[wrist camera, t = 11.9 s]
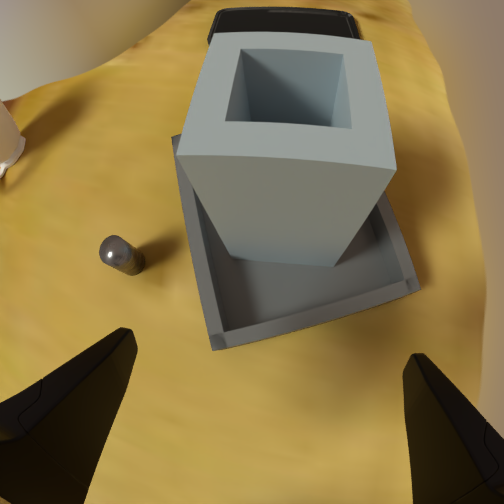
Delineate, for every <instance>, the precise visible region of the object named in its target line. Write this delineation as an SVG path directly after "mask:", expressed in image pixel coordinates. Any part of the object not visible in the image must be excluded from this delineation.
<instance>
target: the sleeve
mask: <svg viewBox="0 0 504 504" xmlns="http://www.w3.org/2000/svg"><path fill="white" fill-rule="evenodd" d="M176 156H177V158H178V160H179V162H180V164H181V166H182V168H183V169H184V171H185V173H186V175H187V177H188V179H189V181H190V183H191V184H192V186H193V188H194V190H195V192H196V194H197V196H198V197H199V199H200V201H201V203H202V205H203V207H204V208H205V210H206V212H207V214H208V216H209V218H210V220H211V221H212V223H213V225H214V227H215V229H216V231H217V232H218V234H219V236H220V238H221V240H222V241H223V243H224V245H225V247H226V249H227V251H228V252H229V254H230V256H231V258H232V259H240V260H253V261H265V262H277V263H290V264H302V265H315V266H328V267H334V265H335V264H336V263H337V261H338V260H339V258H340V257H341V255H342V254H343V252H344V251H345V250H346V248H347V247H348V245H349V244H350V242H351V241H352V239H353V238H354V236H355V235H356V233H357V232H358V230H359V229H360V227H361V226H362V224H363V223H364V221H365V220H366V218H367V217H368V215H369V214H370V212H371V210H372V209H373V207H374V206H375V204H376V203H377V201H378V200H379V198H380V196H381V195H382V193H383V192H384V190H385V188H386V187H387V185H388V184H389V182H390V180H391V179H392V177H393V175H394V174H395V172H396V170H397V168H396V160H395V153H394V146H393V139H392V133H391V127H390V121H389V116H388V111H387V105H386V100H385V96H384V91H383V86H382V82H381V78H380V73H379V69H378V65H377V61H376V58H375V54H374V50H373V46H372V43H371V41H365V40H359V39H352V38H345V37H337V36H328V35H318V34H306V33H288V32H229V33H214V35H213V38H212V40H211V43H210V46H209V49H208V51H207V54H206V57H205V60H204V63H203V66H202V69H201V72H200V75H199V78H198V81H197V84H196V87H195V91H194V94H193V97H192V100H191V104H190V107H189V110H188V114H187V117H186V120H185V124H184V127H183V131H182V135H181V138H180V142H179V146H178V149H177V153H176Z"/></svg>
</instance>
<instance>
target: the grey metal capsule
mask: <svg viewBox="0 0 504 504" xmlns="http://www.w3.org/2000/svg"><path fill="white" fill-rule="evenodd" d="M99 255H100V258H101V260H102V261H103V262H104V263H105V264H107V265H109V266H111V267H113V268H115V269H117V270H119V271H121V272H123V273H125V274H127V275H130V276H133V275H136V274H138V273H140V272H141V270H142V269H143V267H144V264H145V258H144V255H143V254H142V253H141V252H140V251H139V250H137V249H136V248H135V247H133V246H132V245H130V244H129V243H128V242H126V241H125V240H123V239H122V238H121V237H119V236H117V235H112V236H109V237H107V238H106V239H105V240H104V241H103V242H102V244H101V246H100V250H99Z"/></svg>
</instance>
